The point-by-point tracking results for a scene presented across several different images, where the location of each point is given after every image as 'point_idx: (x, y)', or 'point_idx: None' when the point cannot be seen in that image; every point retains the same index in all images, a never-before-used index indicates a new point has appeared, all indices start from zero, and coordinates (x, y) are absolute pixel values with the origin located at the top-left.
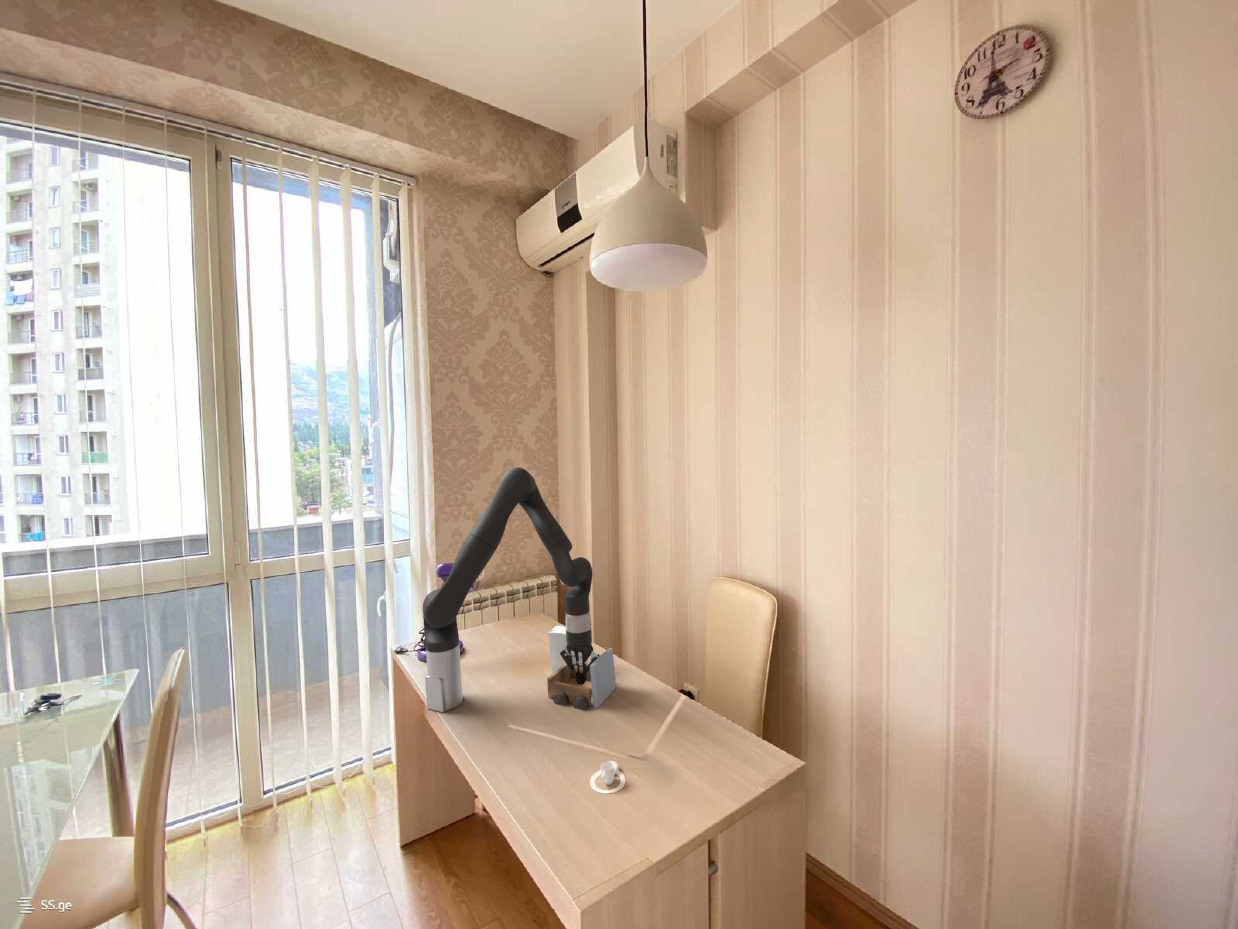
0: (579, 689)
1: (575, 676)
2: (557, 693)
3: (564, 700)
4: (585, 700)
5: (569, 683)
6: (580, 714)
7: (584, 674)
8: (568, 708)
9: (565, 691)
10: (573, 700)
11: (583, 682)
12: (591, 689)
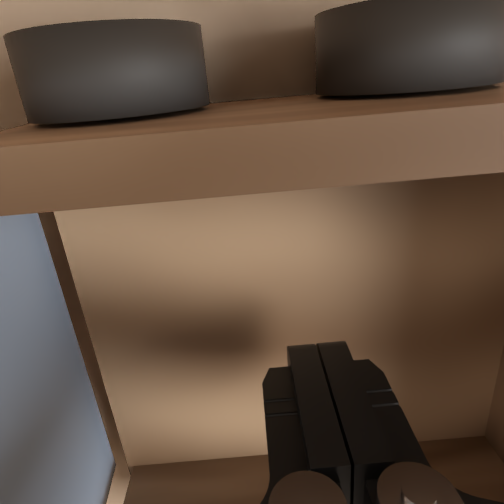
0: (114, 134)
1: (461, 457)
2: (501, 34)
3: (338, 7)
4: (19, 81)
5: (471, 368)
6: (105, 14)
7: (270, 480)
8: (290, 58)
9: (393, 100)
10: (251, 105)
11: (272, 378)
12: (227, 371)
